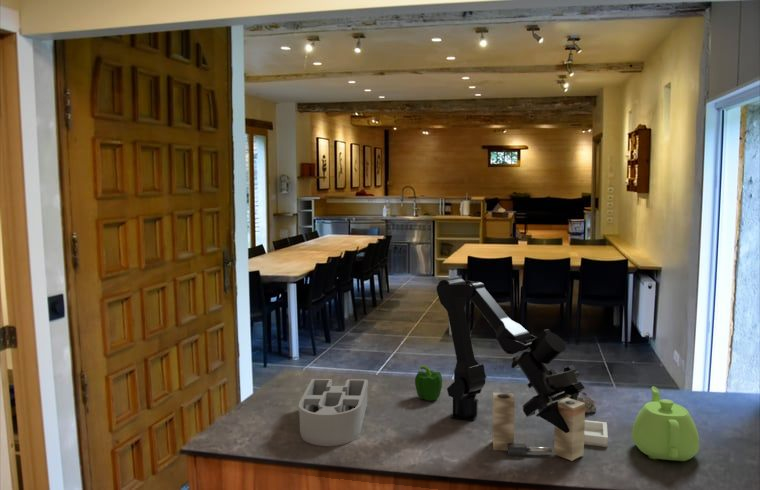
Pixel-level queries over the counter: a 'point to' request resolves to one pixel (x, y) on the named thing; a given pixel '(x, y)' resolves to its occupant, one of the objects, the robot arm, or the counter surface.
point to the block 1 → (503, 420)
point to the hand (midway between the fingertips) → (574, 429)
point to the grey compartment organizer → (333, 411)
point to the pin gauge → (525, 449)
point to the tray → (595, 433)
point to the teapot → (665, 430)
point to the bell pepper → (428, 384)
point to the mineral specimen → (587, 402)
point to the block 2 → (572, 441)
